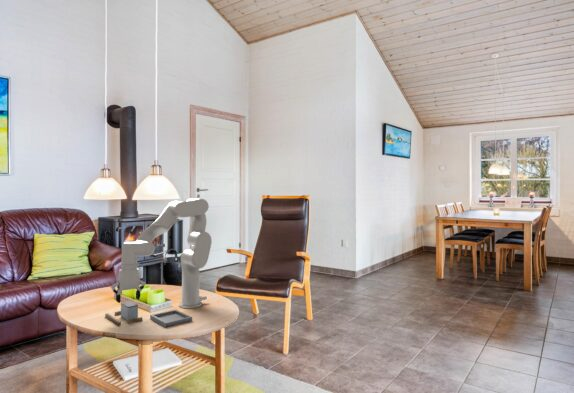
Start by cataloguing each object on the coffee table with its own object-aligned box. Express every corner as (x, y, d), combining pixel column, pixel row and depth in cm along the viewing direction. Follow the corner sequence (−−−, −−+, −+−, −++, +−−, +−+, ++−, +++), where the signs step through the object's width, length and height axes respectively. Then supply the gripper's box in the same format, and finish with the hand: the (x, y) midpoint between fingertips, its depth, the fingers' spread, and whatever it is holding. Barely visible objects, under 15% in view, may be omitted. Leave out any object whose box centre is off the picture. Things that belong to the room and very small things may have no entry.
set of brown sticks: (128, 312, 213) (128, 309, 213) (142, 320, 200) (142, 317, 200) (105, 316, 205) (105, 313, 205) (118, 325, 192) (118, 322, 192)
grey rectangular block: (130, 314, 209) (130, 301, 209) (137, 318, 203) (138, 304, 203) (120, 316, 206) (120, 302, 206) (127, 320, 199) (128, 306, 199)
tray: (176, 313, 212) (176, 309, 212) (192, 321, 201) (192, 317, 200) (150, 318, 203) (150, 314, 203) (165, 327, 191) (165, 323, 191)
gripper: (142, 263, 212) (141, 296, 212) (108, 267, 200) (107, 301, 201) (149, 266, 207) (148, 299, 207) (114, 269, 195) (113, 305, 195)
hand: (128, 300), depth 204 cm, fingers open, 9 cm apart
